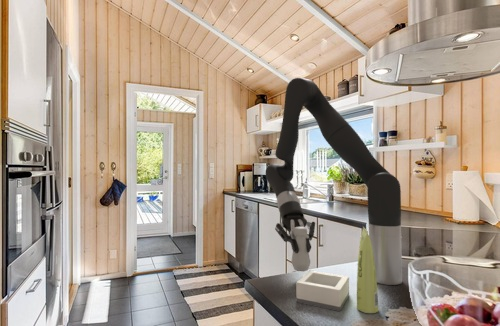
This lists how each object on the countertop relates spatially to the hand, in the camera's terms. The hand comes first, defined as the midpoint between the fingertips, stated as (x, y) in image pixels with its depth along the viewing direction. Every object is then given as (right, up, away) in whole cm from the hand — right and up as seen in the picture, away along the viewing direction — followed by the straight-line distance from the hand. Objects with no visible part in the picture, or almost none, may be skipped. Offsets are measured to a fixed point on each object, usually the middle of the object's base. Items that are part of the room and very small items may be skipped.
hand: (302, 251), depth 92 cm
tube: (+12, -9, -18) cm, 24 cm away
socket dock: (+3, -9, -12) cm, 15 cm away
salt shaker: (0, -6, +2) cm, 6 cm away
